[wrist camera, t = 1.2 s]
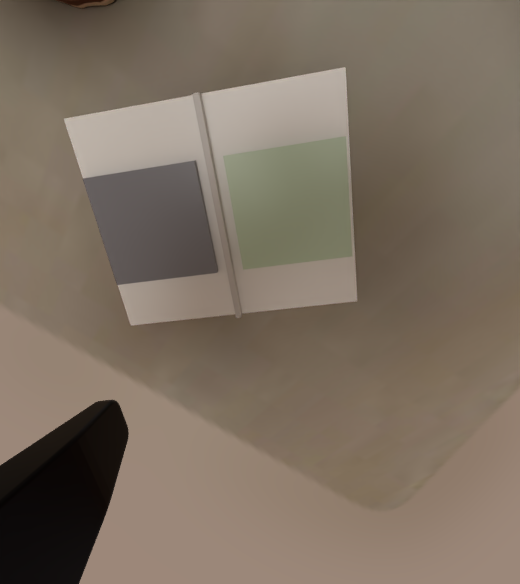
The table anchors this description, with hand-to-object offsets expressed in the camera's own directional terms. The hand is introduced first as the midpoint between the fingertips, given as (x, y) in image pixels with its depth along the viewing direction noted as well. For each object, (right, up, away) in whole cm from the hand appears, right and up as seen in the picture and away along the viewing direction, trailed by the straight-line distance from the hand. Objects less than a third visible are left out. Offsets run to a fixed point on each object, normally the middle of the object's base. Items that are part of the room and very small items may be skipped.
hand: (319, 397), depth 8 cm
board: (-3, +6, +11) cm, 13 cm away
